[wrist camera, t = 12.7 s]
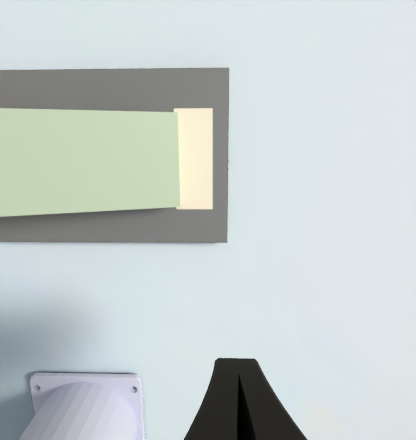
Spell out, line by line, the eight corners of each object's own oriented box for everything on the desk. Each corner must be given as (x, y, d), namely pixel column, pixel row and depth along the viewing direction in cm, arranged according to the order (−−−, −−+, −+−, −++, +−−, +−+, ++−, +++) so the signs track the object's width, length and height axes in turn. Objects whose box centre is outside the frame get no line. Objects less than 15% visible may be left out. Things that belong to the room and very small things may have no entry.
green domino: (177, 112, 16) (-48, 106, 14) (180, 206, 17) (-28, 218, 15) (172, 115, 18) (-32, 111, 15) (175, 202, 19) (-14, 211, 16)
